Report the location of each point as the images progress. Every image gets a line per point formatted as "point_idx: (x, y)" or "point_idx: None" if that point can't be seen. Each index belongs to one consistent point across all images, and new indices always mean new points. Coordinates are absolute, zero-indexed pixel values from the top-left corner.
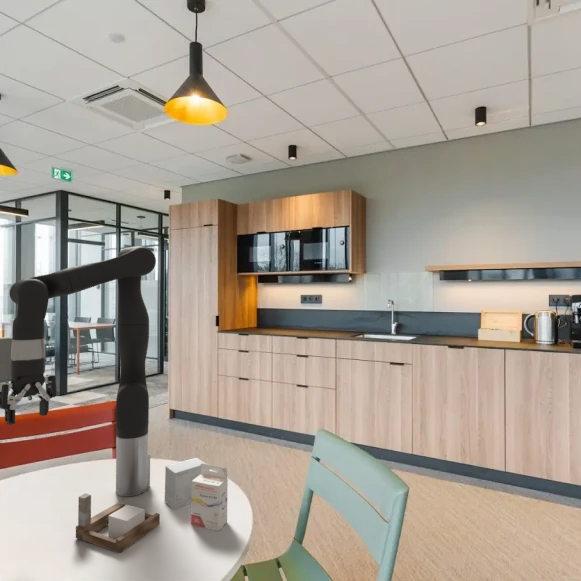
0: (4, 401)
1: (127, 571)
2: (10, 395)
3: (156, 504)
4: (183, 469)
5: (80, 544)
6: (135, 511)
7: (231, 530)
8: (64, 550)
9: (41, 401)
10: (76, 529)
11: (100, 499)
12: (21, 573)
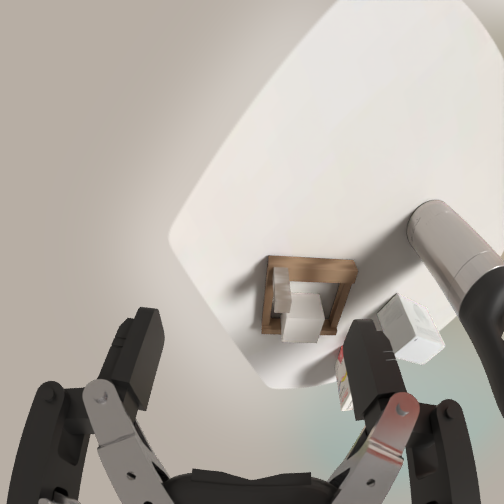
0: (69, 450)
1: (240, 340)
2: (111, 472)
3: (387, 288)
4: (403, 358)
5: (260, 269)
6: (308, 337)
7: None
8: (239, 261)
9: (370, 404)
10: (268, 265)
11: (393, 196)
12: (177, 252)
